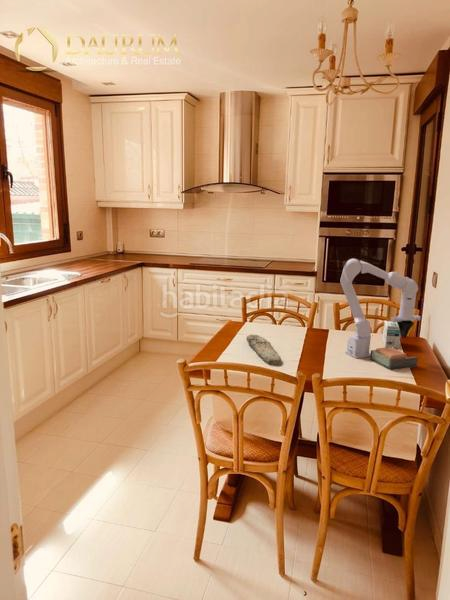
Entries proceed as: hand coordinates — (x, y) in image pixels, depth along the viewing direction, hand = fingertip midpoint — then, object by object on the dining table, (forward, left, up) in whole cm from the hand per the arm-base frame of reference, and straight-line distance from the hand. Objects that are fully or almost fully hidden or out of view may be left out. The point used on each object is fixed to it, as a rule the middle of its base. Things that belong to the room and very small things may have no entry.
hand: (403, 336), depth 190 cm
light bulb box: (+10, +18, -11) cm, 23 cm away
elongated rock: (-56, +26, -11) cm, 63 cm away
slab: (-9, -3, -7) cm, 12 cm away
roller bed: (-7, -3, -10) cm, 13 cm away
